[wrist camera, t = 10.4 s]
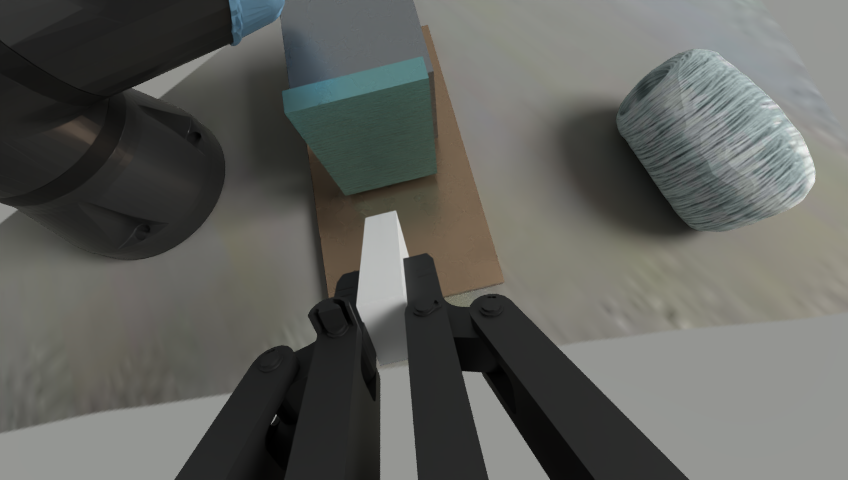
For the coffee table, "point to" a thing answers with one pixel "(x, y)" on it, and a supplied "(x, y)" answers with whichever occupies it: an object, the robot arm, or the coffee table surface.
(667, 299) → the coffee table surface
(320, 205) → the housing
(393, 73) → the block
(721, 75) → the spool
